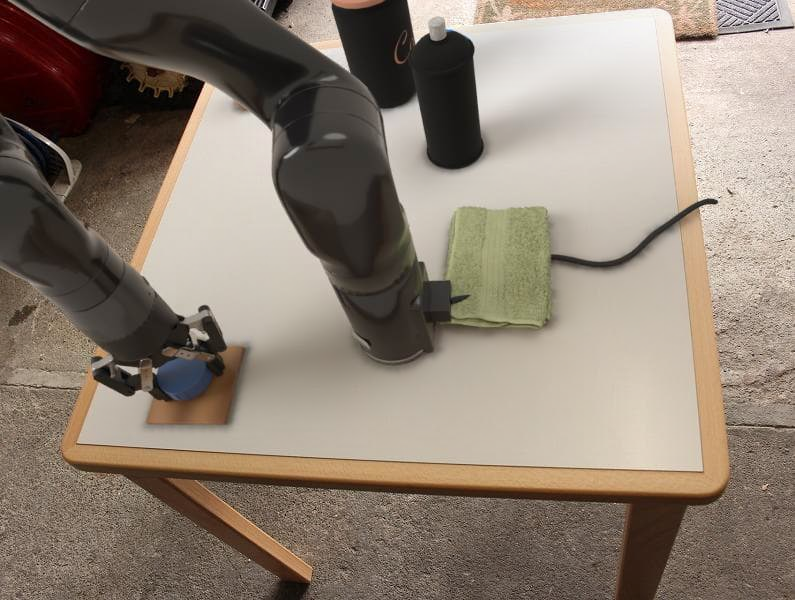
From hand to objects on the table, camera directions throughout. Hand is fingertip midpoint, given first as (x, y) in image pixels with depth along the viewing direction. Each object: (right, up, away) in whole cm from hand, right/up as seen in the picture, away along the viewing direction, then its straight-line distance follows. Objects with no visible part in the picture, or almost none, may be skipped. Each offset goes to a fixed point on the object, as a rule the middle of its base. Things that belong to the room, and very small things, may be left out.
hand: (193, 381), depth 73 cm
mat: (0, 0, 0) cm, 1 cm away
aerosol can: (+33, +31, +15) cm, 48 cm away
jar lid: (-1, +2, -2) cm, 3 cm away
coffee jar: (+23, +44, +25) cm, 55 cm away
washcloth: (+37, +13, +1) cm, 39 cm away
